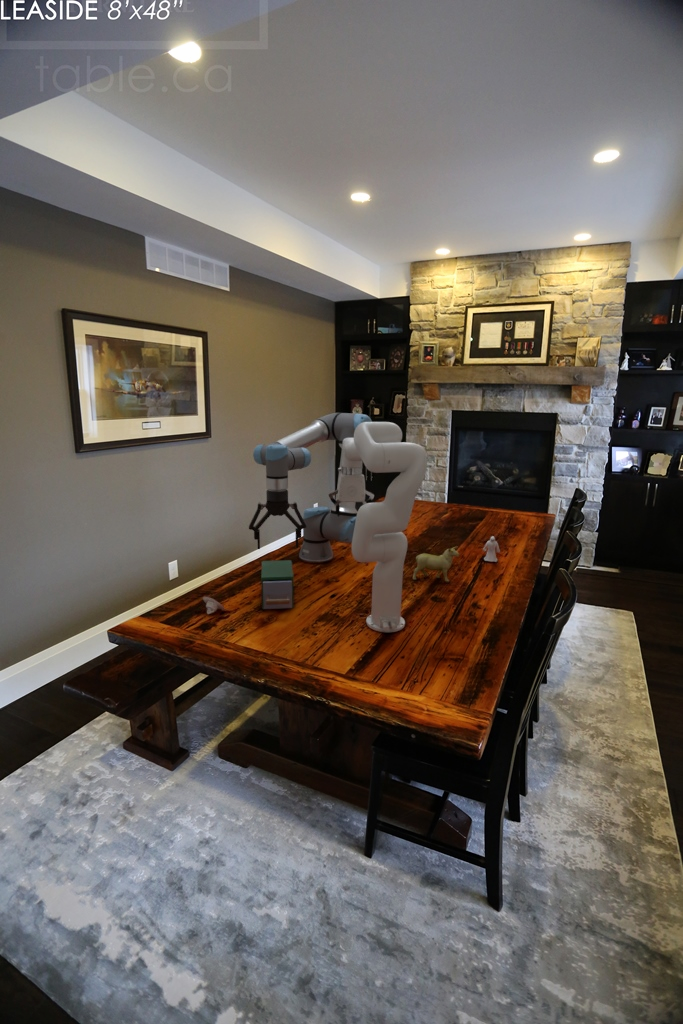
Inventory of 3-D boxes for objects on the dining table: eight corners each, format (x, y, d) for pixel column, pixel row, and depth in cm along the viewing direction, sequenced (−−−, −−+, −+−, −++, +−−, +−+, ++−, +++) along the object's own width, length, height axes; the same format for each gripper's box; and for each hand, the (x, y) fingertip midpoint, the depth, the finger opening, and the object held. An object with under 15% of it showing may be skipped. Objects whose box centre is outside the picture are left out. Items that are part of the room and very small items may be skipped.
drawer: (292, 615, 165) (292, 588, 163) (263, 617, 164) (262, 589, 161) (290, 590, 185) (290, 566, 183) (263, 591, 184) (263, 566, 182)
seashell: (209, 622, 169) (193, 604, 168) (220, 611, 173) (205, 594, 172) (217, 618, 163) (201, 599, 162) (228, 607, 167) (213, 589, 166)
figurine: (481, 562, 222) (483, 536, 219) (482, 556, 230) (484, 531, 227) (499, 564, 220) (501, 538, 217) (499, 558, 228) (501, 533, 225)
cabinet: (293, 607, 173) (293, 576, 171) (261, 609, 172) (261, 577, 169) (291, 589, 189) (291, 560, 186) (262, 590, 188) (261, 561, 185)
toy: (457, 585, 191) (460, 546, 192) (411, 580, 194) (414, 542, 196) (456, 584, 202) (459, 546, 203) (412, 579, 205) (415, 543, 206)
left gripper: (311, 486, 180) (311, 543, 185) (241, 487, 176) (243, 545, 181) (313, 491, 173) (313, 549, 178) (240, 492, 169) (242, 551, 174)
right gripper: (328, 472, 182) (328, 518, 186) (376, 473, 183) (374, 518, 187) (328, 469, 190) (328, 513, 194) (374, 470, 190) (372, 513, 194)
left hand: (277, 547), depth 180 cm, fingers open, 13 cm apart
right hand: (351, 515), depth 190 cm, fingers open, 9 cm apart
